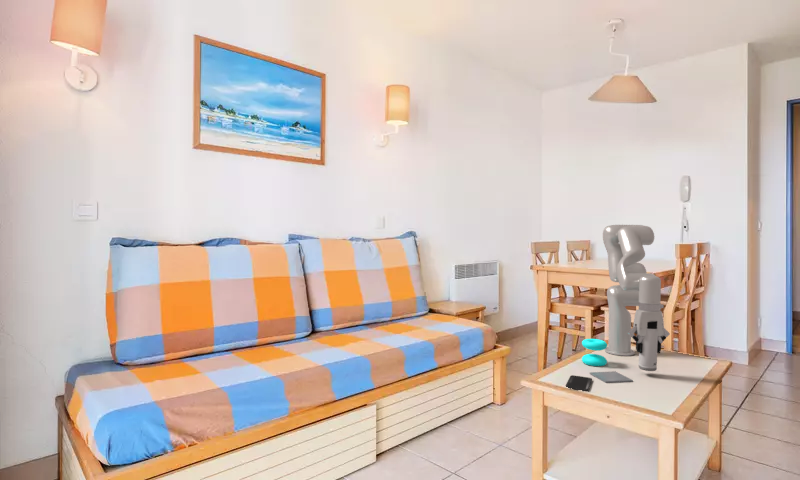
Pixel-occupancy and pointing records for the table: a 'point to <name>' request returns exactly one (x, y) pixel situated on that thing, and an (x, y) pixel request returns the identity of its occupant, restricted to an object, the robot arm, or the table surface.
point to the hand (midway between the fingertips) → (648, 352)
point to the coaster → (611, 377)
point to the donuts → (594, 358)
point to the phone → (579, 383)
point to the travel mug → (649, 348)
